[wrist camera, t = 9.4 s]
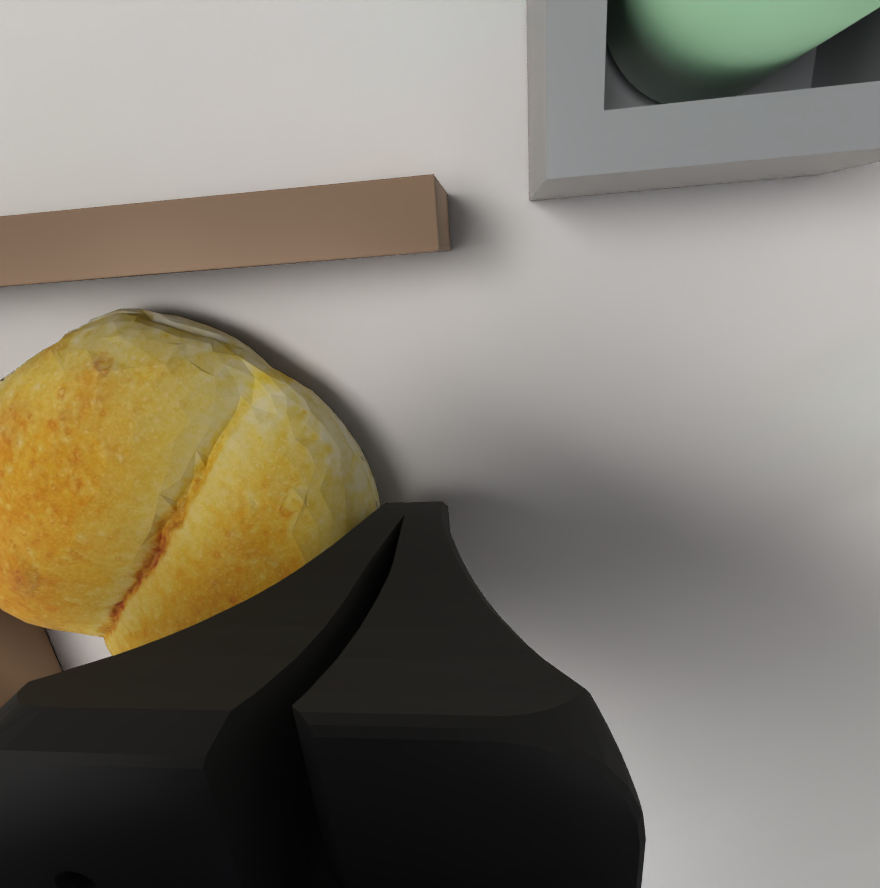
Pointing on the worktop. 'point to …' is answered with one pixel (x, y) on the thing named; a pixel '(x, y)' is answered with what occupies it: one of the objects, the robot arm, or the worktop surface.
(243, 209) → the walnut pocket
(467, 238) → the worktop surface
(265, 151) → the worktop surface
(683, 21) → the button
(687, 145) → the button housing
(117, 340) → the bread roll
